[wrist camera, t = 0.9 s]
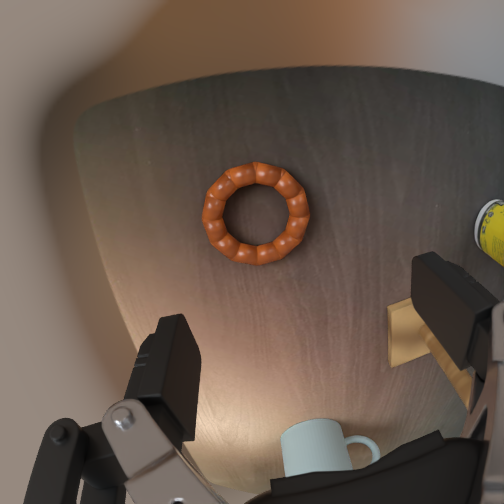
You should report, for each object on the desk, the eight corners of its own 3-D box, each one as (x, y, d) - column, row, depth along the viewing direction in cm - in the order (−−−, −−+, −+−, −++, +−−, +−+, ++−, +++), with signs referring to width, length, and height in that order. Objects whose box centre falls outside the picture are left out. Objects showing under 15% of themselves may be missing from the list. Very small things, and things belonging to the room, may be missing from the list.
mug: (282, 453, 42) (289, 506, 33) (278, 425, 38) (286, 486, 29) (365, 436, 42) (381, 485, 33) (373, 405, 38) (394, 461, 29)
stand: (386, 305, 30) (450, 407, 18) (454, 280, 30) (529, 359, 17) (387, 361, 34) (432, 453, 21) (447, 336, 33) (502, 414, 21)
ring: (190, 180, 24) (187, 184, 23) (292, 149, 24) (296, 152, 22) (222, 270, 28) (222, 279, 26) (315, 243, 27) (319, 251, 26)
